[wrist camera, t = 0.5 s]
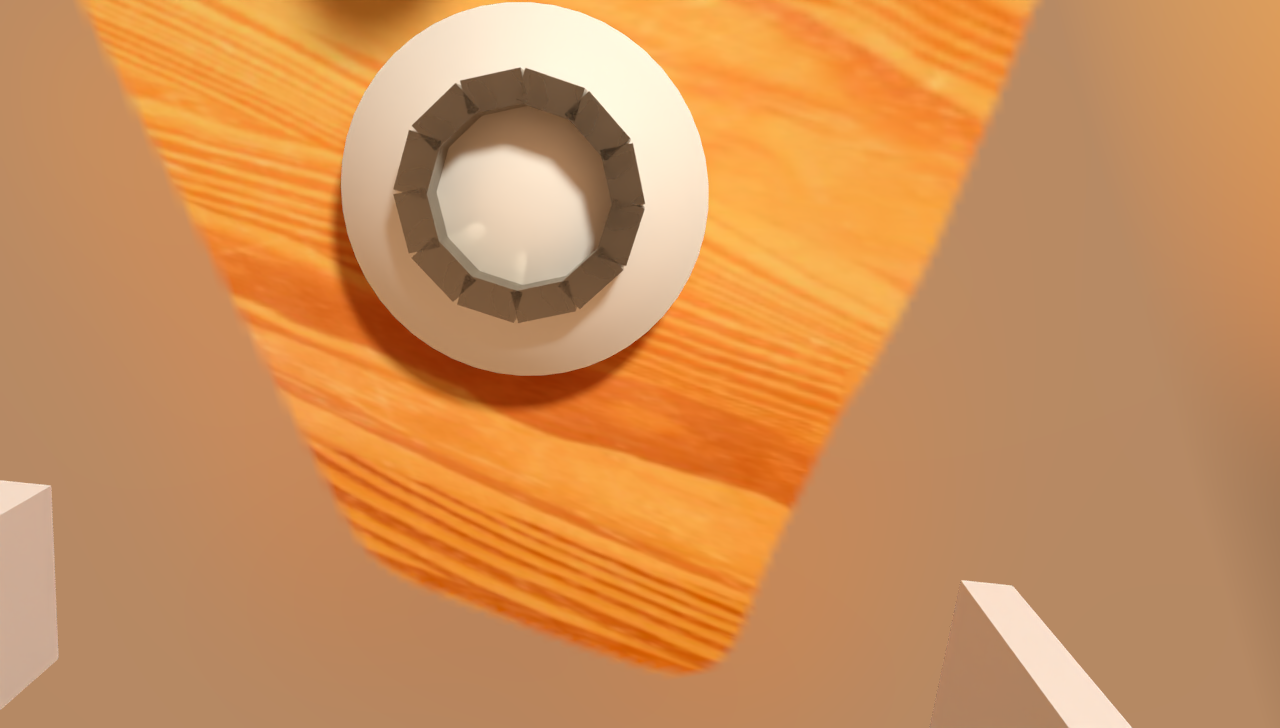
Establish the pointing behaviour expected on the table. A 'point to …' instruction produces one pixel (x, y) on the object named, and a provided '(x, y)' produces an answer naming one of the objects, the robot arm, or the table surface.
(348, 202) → the socket base
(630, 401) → the table surface
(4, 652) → the robot arm
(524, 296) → the socket collar
